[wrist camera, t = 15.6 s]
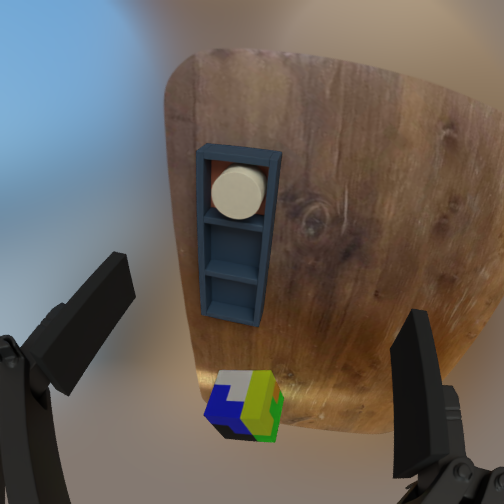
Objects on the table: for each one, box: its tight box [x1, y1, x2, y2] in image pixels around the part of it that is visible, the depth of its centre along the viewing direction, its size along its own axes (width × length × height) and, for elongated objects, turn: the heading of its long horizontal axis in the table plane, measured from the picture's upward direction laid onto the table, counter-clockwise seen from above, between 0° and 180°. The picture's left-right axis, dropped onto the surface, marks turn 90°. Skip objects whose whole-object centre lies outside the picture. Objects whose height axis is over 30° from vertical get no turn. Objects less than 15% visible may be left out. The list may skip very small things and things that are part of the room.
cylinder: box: [211, 162, 267, 219], centre depth 31 cm, size 5×5×4 cm
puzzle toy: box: [204, 370, 284, 442], centre depth 51 cm, size 10×10×10 cm
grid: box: [196, 143, 282, 327], centre depth 36 cm, size 8×23×3 cm, turn 176°
